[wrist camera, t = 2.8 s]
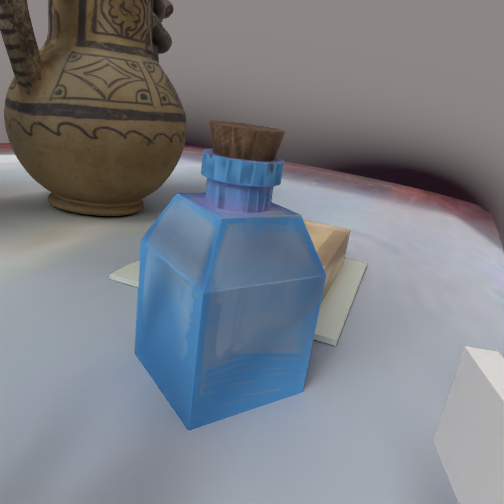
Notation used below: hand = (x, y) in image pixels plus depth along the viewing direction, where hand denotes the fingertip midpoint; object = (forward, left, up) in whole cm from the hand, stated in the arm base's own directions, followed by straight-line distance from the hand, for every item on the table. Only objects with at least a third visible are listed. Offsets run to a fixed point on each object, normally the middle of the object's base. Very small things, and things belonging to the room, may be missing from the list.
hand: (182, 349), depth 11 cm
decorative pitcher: (-27, +30, -7) cm, 41 cm away
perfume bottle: (-3, +9, -7) cm, 12 cm away
